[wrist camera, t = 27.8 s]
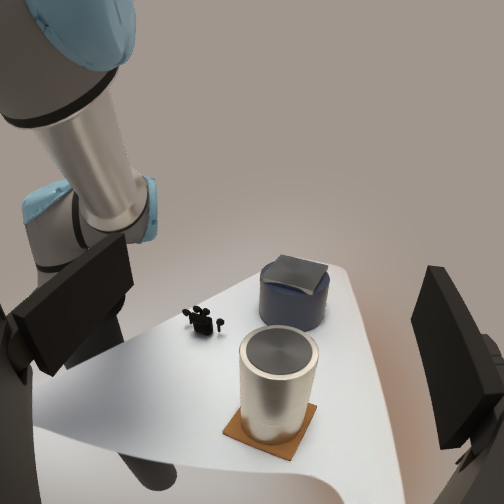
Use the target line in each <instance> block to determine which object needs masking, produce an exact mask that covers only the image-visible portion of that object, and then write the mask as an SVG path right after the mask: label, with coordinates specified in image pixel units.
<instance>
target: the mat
mask: <svg viewBox="0 0 504 504" xmlns="http://www.w3.org/2000/svg"><path fill="white" fill-rule="evenodd" d="M316 408H317V406H316V405H313V404H310V403H308V405H307V409H306V413H305V417H304V420H303V424H302V427H301V430H300V432H299V433H298V434H297V436H295V437H294V438H293V439H292V440H290V441H288V442H286V443H283V444H279V445H266V444H261V443H258V442H256V441H254V440H253V439H251V438H250V437H249V436H248V435H247V434H246V433H245V432H244V430H243V428H242V425H241V406H240V408H239V409H238V411H237V412H236V414H235V415H234V416H233V418H232V419H231V421H230V422H229V423H228V425H227V426H226V427H225V429H224V430H223V434H225V435H227V436H229V437H231V438H234V439H236V440H238V441H241V442H243V443H245V444H248V445H250V446H252V447H255V448H257V449H260V450H262V451H265V452H267V453H270V454H272V455H275V456H278V457H280V458H283V459H286V460H289V461H291V459H292V457H293V455H294V453H295V451H296V449H297V447H298V445H299V443H300V441H301V439H302V437H303V435H304V433H305V431H306V429H307V427H308V425H309V423H310V421H311V419H312V417H313V414H314V412H315V410H316Z"/></svg>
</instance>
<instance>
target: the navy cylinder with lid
mask: <svg viewBox="0 0 504 504" xmlns="http://www.w3.org/2000/svg"><path fill="white" fill-rule="evenodd" d="M327 270H328V265H324V264H319V263H315V262H311V261H307V260H303V259H298V258H294V257H290V256H285V255H280V256H279V257H278V258H277V260H276V261H274V262H272V263H270V264H268V265H266V266H265V267H264V268H263V269H262V271H261V274H260V304H259V313H260V316H261V318H262V320H263V321H264V322H265V323H266V324H267V325H269V326H271V325H283V326H290V327H294V328H297V329H299V330H301V331H303V332H306V331H309V330H311V329H314V328H315V327H317V326H318V325H319V324H320V323H321V322H322V320H323V317H324V311H325V306H326V300H327V294H328V288H329V282H330V278H329V275H328V273H327V272H326V271H327Z"/></svg>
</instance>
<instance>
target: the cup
mask: <svg viewBox="0 0 504 504" xmlns="http://www.w3.org/2000/svg"><path fill="white" fill-rule="evenodd" d="M318 358H319V350H318V347H317V344H316V343H315V341H314V340H313V339H312V338H311V337H310V336H309V335H308V334H306V333H305V332H303V331H301V330H299V329H297V328H294V327H290V326H283V325H271V326H265V327H261V328H258V329H256V330H254V331H252V332H251V333H249V334H248V335H247V336H246V337H245V338H244V339H243V341H242V343H241V345H240V348H239V363H240V406H241V425H242V428H243V430H244V432H245V433H246V434H247V435H248V436H249V437H250V438H251V439H253V440H254V441H256V442H258V443H261V444H266V445H279V444H283V443H286V442H288V441H290V440H292V439H293V438H294V437H295V436H297V434H298V433H299V432H300V430H301V427H302V424H303V420H304V417H305V413H306V409H307V405H308V401H309V397H310V393H311V389H312V384H313V380H314V376H315V371H316V367H317V362H318Z"/></svg>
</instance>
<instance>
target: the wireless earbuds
mask: <svg viewBox="0 0 504 504" xmlns="http://www.w3.org/2000/svg"><path fill="white" fill-rule="evenodd" d="M193 310H194V312H195V313H193V312H192V313H191V312H190V311H189V310H187V309H184V310H182V312H183V314H184V315H185V316H188V315H189V320H190V324H193V326H194V330H195V331H196V332H198V333H201V334H204V335H211V334H212V333H213V324H212V318H211V317H207V316H206V315H209V314H210V310H208V309H207V308H204V309H203V310H202V309H201V308H200V307H199V306H193ZM198 312H200V314H196V313H198ZM216 324H217V327H218V332H220V326H221V325H223V324H224V320H223V319H220V318H219V319H217V321H216Z"/></svg>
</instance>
